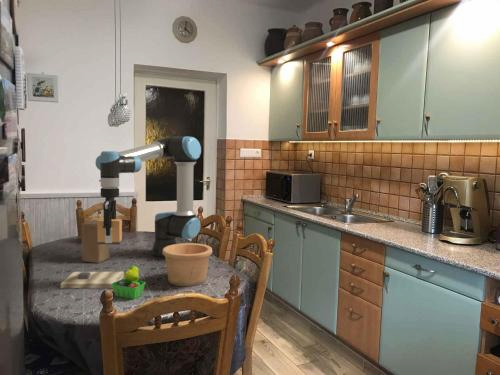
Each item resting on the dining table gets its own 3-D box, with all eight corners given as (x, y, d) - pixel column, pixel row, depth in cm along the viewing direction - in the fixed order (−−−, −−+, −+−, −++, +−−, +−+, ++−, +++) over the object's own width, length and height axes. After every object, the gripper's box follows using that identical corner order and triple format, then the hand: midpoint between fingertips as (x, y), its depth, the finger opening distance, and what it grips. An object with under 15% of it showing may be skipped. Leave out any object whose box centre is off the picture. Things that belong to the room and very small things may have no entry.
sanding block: (121, 241, 175) (121, 219, 174) (119, 244, 170) (119, 221, 169) (100, 241, 174) (100, 219, 173) (97, 244, 169) (97, 221, 168)
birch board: (123, 275, 182) (123, 271, 182) (115, 288, 166) (115, 283, 166) (73, 276, 179) (73, 271, 179) (60, 288, 163) (60, 283, 163)
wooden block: (99, 263, 199) (98, 224, 198) (81, 262, 201) (80, 223, 200) (110, 258, 209) (109, 220, 207) (92, 256, 211) (92, 219, 209)
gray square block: (90, 276, 174) (90, 272, 174) (87, 278, 170) (87, 275, 170) (80, 276, 174) (80, 272, 174) (77, 279, 170) (77, 275, 170)
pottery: (217, 275, 186) (218, 245, 185) (201, 291, 165) (202, 257, 164) (174, 270, 191) (175, 241, 190) (153, 285, 170) (153, 252, 169)
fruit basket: (110, 296, 157) (110, 268, 156) (125, 289, 165) (125, 262, 164) (134, 301, 153) (134, 272, 152) (148, 293, 161) (148, 266, 160)
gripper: (105, 185, 178) (106, 236, 180) (94, 189, 160) (95, 246, 162) (123, 185, 179) (123, 236, 181) (114, 189, 161) (114, 246, 163)
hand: (110, 241), depth 172 cm, fingers closed on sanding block, 5 cm apart
